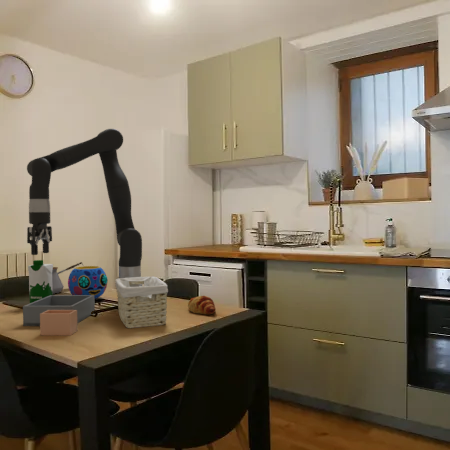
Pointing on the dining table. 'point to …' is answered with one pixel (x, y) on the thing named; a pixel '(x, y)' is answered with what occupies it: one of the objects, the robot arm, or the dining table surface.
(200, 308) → the croissant
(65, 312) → the small crate
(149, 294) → the storage basket
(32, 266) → the milk carton
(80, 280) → the ceramic pot
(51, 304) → the big crate
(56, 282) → the coffee pot
